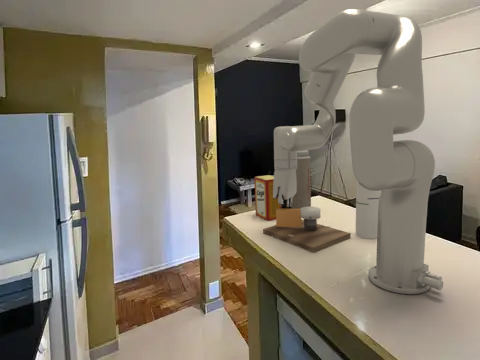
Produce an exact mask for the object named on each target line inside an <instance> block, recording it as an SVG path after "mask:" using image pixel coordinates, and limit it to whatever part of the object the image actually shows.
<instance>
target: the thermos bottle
mask: <svg viewBox="0 0 480 360" xmlns="http://www.w3.org/2000/svg"><path fill="white" fill-rule="evenodd" d="M309 151H310V150H302V151H297V169H296V179H297V191H296V194H295V195H294V196H293V198H292V205H291V208H292V209H301V208H302V207H312V186H311V185H312V179H311V177H312V173H311V172H312V170H311V168H312V167H311V166H312V163H311V161H312V160H311V156H310V152H309Z"/></svg>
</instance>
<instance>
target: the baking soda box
mask: <svg viewBox="0 0 480 360" xmlns="http://www.w3.org/2000/svg"><path fill="white" fill-rule="evenodd" d="M253 180H254V199H255V200H254V201H255V216H257V217H259V218H261V219H263V221H264V220H265V221H266V222H269V221H274V220H275V221H276V208H281V206H280V204H278V198H277V199H274V198H273V182H274V175H270V174H267V175H258V176H254V178H253Z"/></svg>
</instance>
